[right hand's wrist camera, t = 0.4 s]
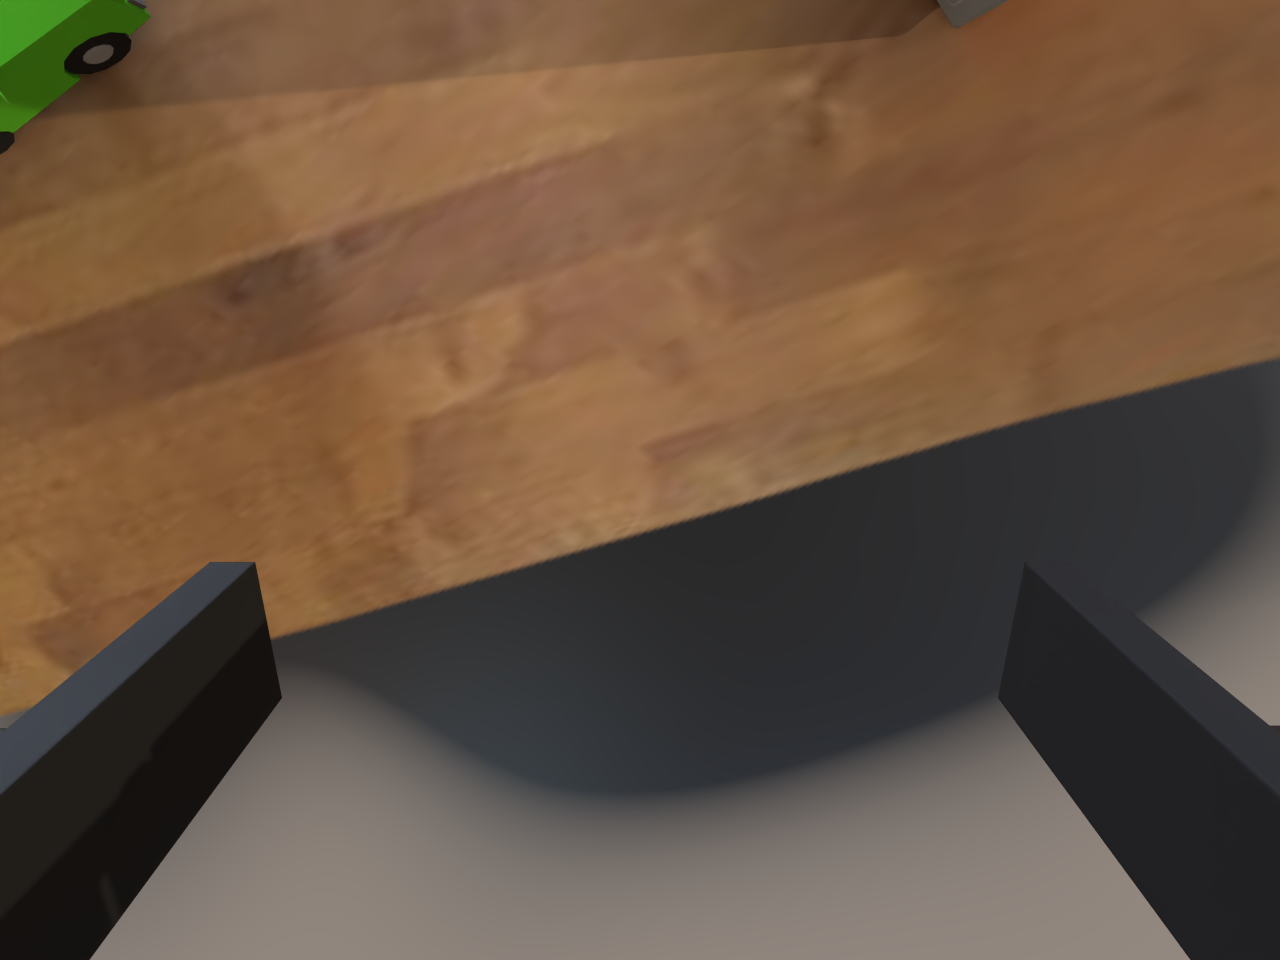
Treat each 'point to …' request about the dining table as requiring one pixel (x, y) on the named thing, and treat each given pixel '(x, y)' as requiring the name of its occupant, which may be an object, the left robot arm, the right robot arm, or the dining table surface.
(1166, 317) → the dining table surface
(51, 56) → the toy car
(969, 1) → the hard drive box
